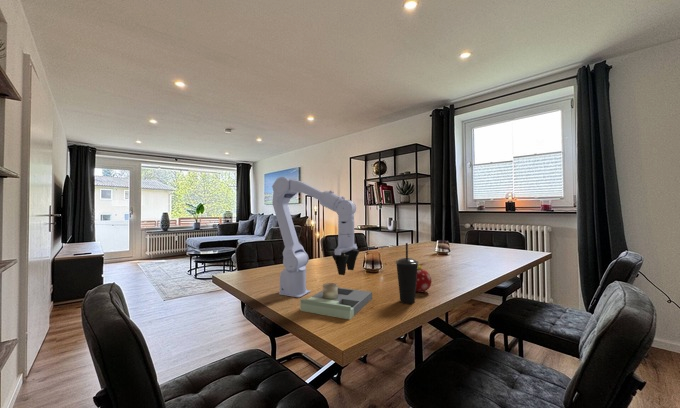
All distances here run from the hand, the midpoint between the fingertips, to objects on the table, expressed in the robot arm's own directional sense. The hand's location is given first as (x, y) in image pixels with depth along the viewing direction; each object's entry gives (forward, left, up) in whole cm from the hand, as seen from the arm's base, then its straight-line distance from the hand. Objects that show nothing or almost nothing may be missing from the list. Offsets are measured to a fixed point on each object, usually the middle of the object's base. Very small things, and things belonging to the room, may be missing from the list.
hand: (346, 272), depth 99 cm
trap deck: (0, -6, -9) cm, 11 cm away
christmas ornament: (+22, +19, -10) cm, 31 cm away
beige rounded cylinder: (-3, -7, -7) cm, 10 cm away
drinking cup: (+20, +6, -10) cm, 23 cm away
